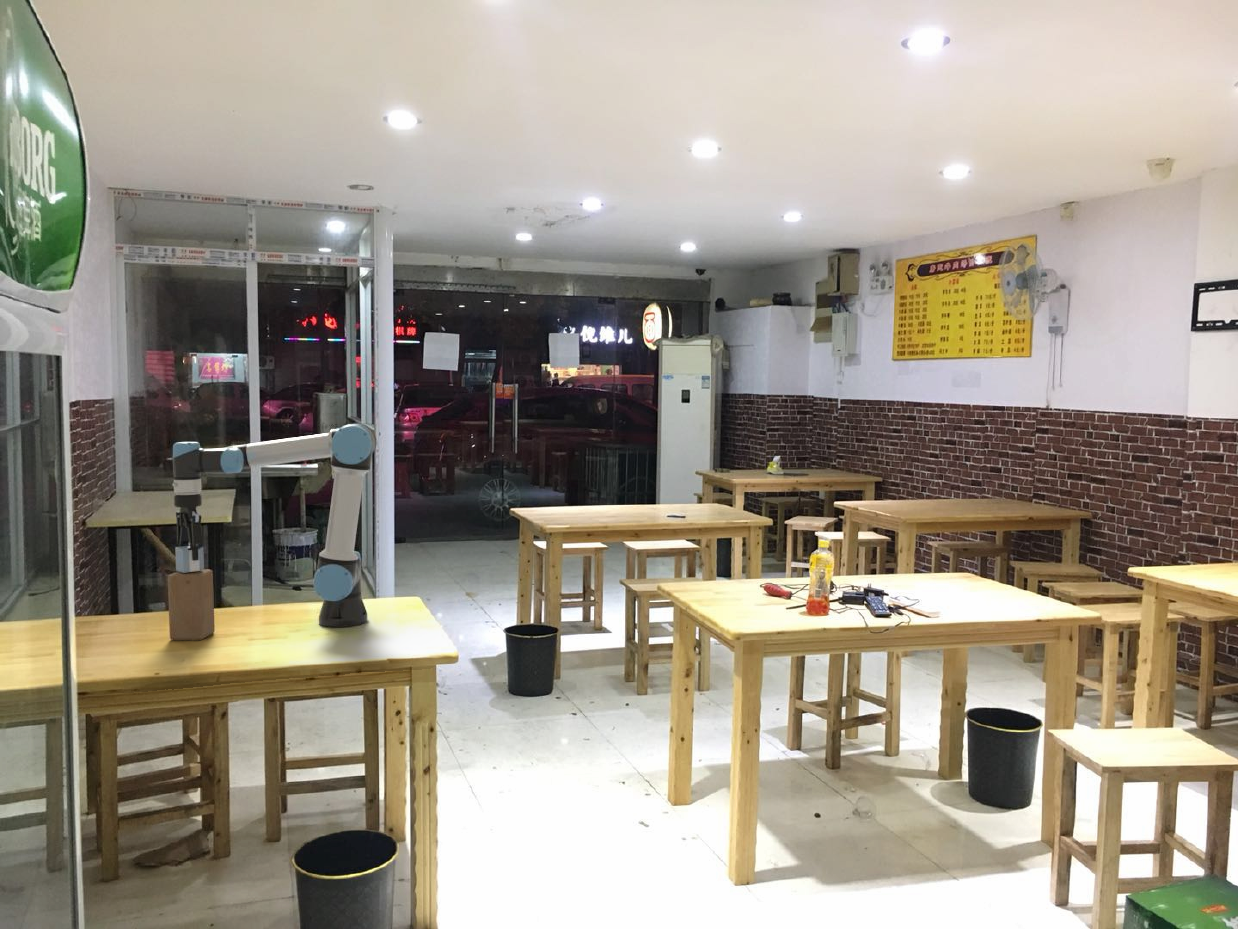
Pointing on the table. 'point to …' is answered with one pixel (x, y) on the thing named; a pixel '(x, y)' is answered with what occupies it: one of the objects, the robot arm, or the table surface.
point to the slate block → (187, 559)
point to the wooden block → (191, 605)
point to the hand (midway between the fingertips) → (190, 569)
